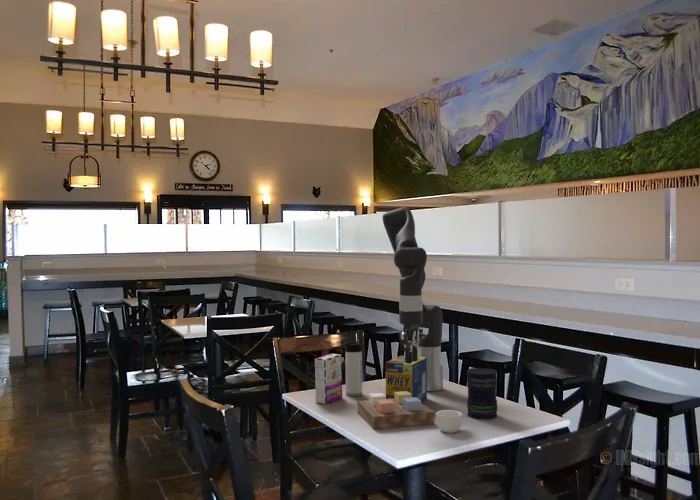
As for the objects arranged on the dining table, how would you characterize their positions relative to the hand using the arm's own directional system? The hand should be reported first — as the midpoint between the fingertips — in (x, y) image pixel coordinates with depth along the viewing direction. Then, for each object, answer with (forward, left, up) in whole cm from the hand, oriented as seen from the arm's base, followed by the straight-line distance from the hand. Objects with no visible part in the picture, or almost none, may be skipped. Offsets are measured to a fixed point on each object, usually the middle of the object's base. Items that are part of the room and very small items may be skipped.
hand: (411, 361), depth 195 cm
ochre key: (0, -9, -16) cm, 19 cm away
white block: (+9, -9, -16) cm, 21 cm away
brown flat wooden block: (+4, -5, -19) cm, 20 cm away
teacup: (-9, +12, -19) cm, 25 cm away
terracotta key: (+9, 0, -16) cm, 19 cm away
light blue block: (0, 0, -16) cm, 16 cm away
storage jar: (-25, 0, -19) cm, 31 cm away
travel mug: (+9, -40, -19) cm, 45 cm away
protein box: (-7, -24, -19) cm, 31 cm away
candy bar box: (+20, -34, -19) cm, 44 cm away
